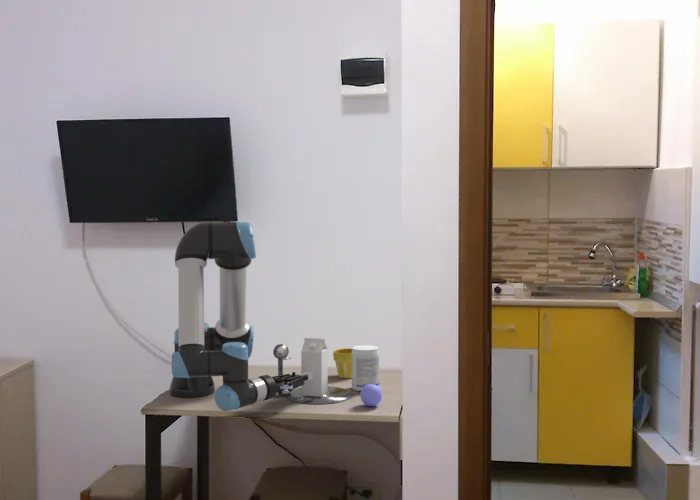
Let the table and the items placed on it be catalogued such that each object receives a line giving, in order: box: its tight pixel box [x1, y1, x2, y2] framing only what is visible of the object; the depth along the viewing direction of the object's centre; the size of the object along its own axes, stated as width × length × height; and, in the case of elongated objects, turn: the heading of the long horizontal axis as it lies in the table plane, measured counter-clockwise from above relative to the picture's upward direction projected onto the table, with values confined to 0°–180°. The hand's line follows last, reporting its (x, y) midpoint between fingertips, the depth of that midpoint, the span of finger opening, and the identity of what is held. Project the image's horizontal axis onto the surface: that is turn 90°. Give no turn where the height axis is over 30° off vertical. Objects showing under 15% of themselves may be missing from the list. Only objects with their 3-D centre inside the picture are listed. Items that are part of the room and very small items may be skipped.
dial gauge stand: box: [272, 343, 292, 399], centre depth 244 cm, size 5×6×18 cm
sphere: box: [359, 384, 383, 407], centre depth 232 cm, size 7×7×7 cm
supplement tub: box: [351, 344, 380, 392], centre depth 253 cm, size 10×10×15 cm
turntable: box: [286, 386, 353, 405], centre depth 245 cm, size 22×22×1 cm
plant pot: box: [332, 347, 352, 379], centre depth 271 cm, size 10×10×10 cm
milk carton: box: [300, 337, 329, 397], centre depth 244 cm, size 7×7×19 cm
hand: (311, 374), depth 240 cm, fingers closed
